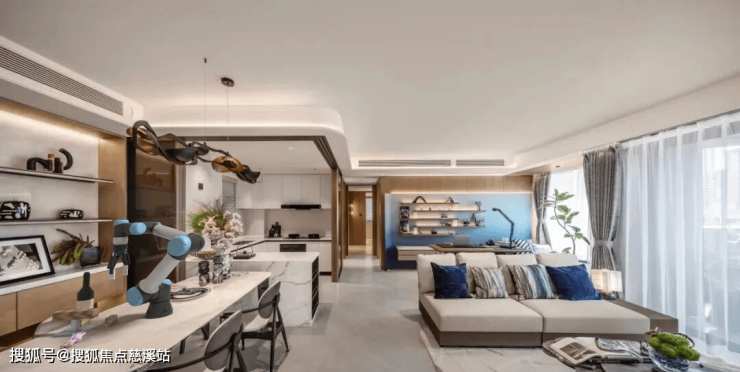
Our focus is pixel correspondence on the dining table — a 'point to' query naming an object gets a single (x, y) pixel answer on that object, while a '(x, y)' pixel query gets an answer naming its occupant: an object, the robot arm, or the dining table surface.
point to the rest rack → (108, 321)
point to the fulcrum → (74, 329)
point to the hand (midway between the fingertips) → (118, 277)
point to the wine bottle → (85, 294)
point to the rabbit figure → (73, 339)
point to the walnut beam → (75, 314)
